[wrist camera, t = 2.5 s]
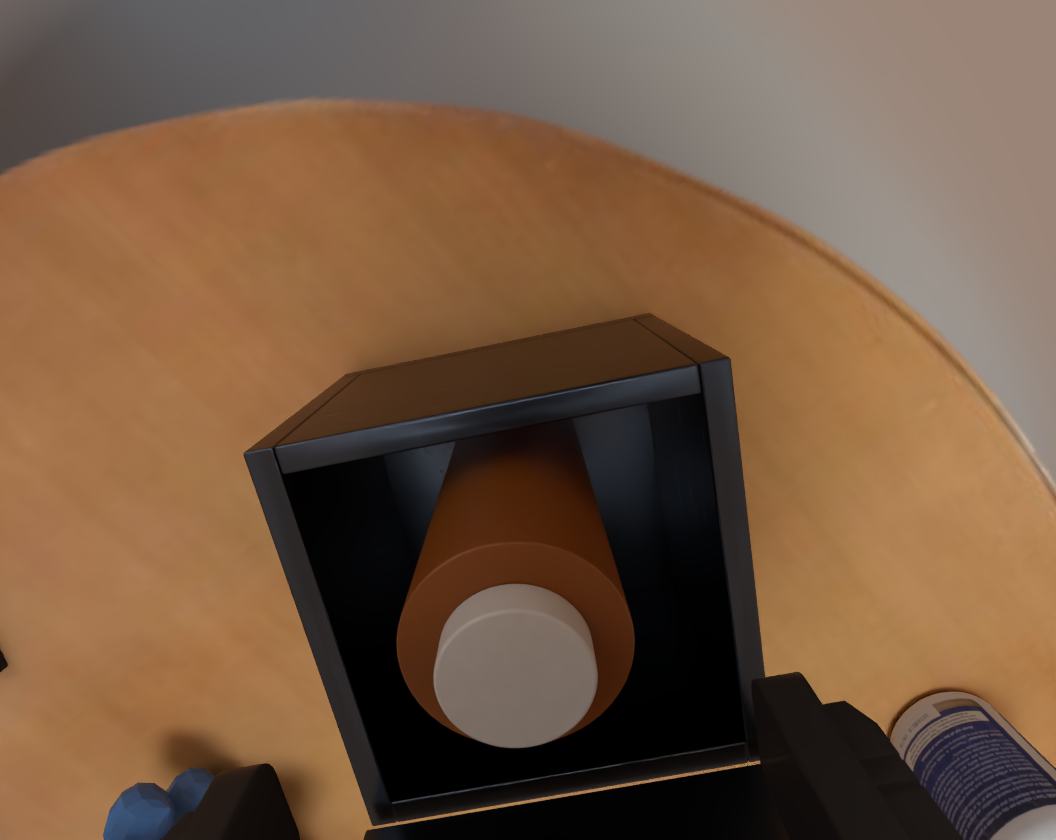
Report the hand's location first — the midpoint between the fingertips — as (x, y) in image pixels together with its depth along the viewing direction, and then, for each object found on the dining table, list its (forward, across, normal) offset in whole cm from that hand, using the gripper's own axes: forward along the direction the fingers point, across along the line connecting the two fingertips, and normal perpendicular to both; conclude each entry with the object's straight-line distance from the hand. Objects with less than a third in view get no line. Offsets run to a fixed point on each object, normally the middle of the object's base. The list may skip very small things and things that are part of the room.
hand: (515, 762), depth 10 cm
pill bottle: (+17, -18, +19) cm, 31 cm away
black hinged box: (+17, 0, +2) cm, 17 cm away
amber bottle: (+16, 0, 0) cm, 16 cm away
